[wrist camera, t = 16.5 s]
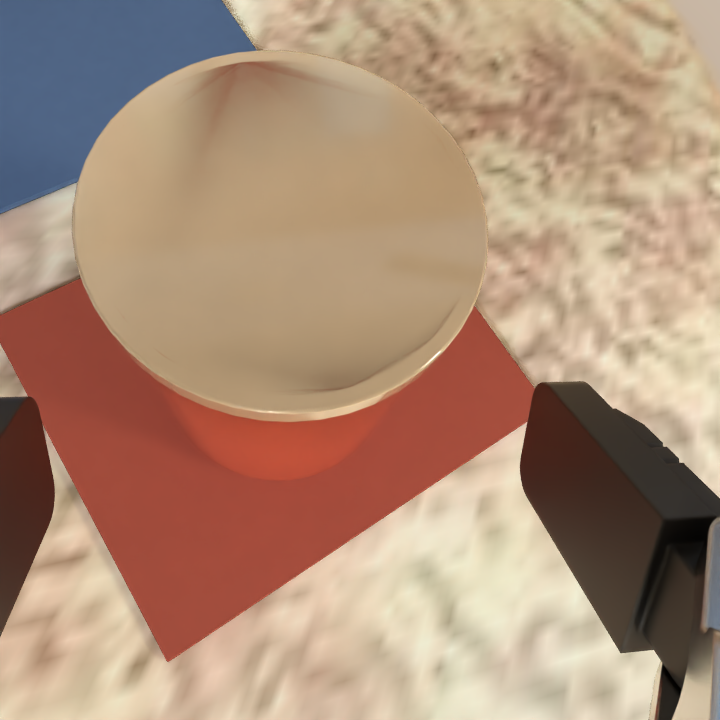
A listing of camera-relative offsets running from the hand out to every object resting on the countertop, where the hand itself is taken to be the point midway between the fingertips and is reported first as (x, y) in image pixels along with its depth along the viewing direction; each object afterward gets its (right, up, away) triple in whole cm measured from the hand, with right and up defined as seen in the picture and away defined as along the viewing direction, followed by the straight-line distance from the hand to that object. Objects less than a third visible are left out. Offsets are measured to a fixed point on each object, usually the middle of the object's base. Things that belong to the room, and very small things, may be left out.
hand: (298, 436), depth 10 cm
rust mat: (-1, +1, +7) cm, 8 cm away
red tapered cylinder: (-1, +1, +7) cm, 7 cm away
